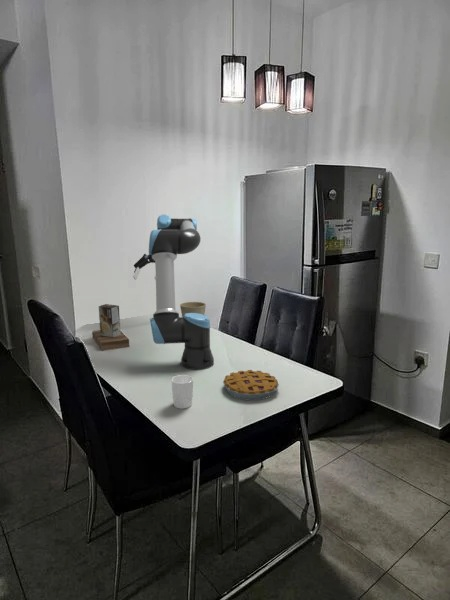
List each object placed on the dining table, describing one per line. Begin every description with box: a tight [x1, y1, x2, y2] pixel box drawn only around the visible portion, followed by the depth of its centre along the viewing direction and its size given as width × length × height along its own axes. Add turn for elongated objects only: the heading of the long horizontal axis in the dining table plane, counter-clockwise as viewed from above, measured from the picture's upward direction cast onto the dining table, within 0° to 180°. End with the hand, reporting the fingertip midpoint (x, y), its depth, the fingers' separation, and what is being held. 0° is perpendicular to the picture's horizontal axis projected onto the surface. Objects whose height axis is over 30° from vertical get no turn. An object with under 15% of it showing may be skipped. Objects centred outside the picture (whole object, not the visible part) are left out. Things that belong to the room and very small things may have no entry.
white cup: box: [171, 374, 194, 410], centre depth 149 cm, size 8×8×10 cm
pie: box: [222, 369, 280, 401], centre depth 162 cm, size 22×22×5 cm
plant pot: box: [179, 301, 207, 317], centre depth 240 cm, size 15×15×16 cm
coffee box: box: [98, 303, 121, 337], centre depth 217 cm, size 9×6×16 cm
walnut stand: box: [91, 329, 130, 352], centre depth 219 cm, size 24×14×4 cm, turn 29°
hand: (145, 278), depth 223 cm, fingers open, 13 cm apart
